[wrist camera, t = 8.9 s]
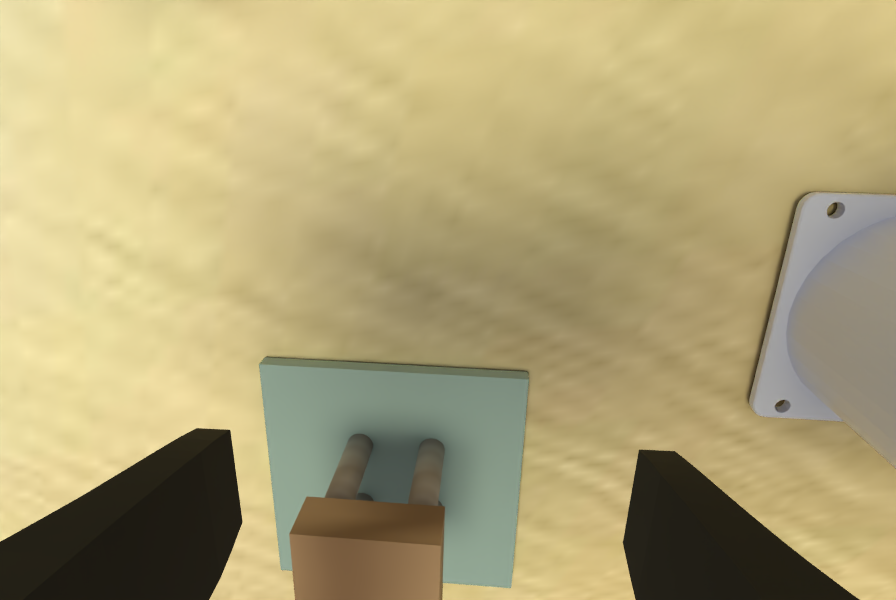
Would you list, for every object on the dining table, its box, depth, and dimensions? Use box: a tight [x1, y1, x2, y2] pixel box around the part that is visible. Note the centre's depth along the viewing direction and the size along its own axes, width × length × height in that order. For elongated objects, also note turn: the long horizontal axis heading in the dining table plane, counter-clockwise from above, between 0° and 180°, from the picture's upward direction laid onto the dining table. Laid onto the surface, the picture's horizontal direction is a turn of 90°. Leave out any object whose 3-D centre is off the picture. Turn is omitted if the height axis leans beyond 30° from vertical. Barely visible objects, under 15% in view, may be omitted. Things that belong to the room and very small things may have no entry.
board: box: [259, 357, 529, 588], centre depth 22 cm, size 10×10×1 cm
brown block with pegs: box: [289, 434, 445, 600], centre depth 19 cm, size 4×4×6 cm
